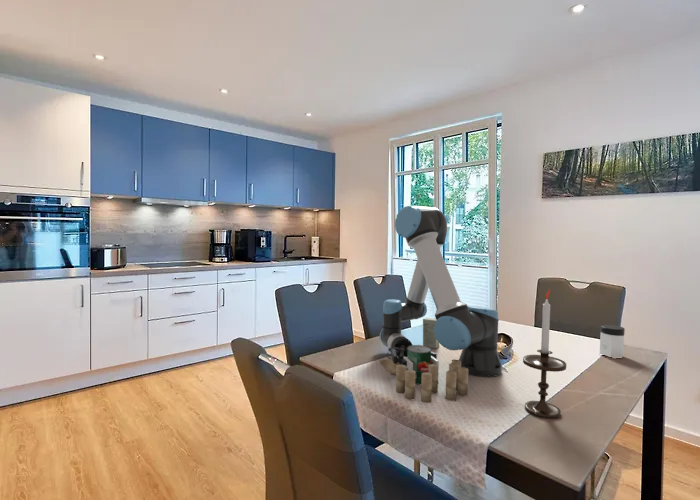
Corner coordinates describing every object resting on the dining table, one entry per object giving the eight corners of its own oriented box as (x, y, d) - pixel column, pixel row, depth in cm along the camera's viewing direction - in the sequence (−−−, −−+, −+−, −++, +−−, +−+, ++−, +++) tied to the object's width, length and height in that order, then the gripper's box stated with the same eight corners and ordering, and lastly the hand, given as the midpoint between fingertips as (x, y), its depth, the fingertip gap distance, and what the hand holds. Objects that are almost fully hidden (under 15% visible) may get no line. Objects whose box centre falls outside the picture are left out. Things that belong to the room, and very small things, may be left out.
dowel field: (460, 383, 128) (461, 359, 127) (473, 404, 112) (474, 377, 112) (393, 381, 129) (394, 358, 128) (398, 402, 113) (398, 375, 113)
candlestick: (571, 413, 108) (577, 289, 106) (551, 424, 101) (557, 292, 100) (534, 399, 116) (538, 284, 115) (513, 408, 110) (518, 287, 108)
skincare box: (439, 346, 169) (440, 318, 168) (436, 348, 165) (436, 320, 164) (425, 343, 172) (426, 316, 171) (422, 346, 168) (422, 318, 168)
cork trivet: (412, 359, 151) (413, 357, 151) (428, 371, 138) (428, 370, 138) (378, 361, 148) (378, 359, 148) (390, 374, 135) (391, 373, 135)
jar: (593, 353, 162) (595, 325, 161) (606, 351, 165) (608, 323, 164) (615, 360, 153) (617, 330, 153) (628, 357, 157) (630, 328, 156)
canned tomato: (409, 374, 135) (410, 343, 134) (432, 378, 132) (433, 346, 131) (404, 382, 128) (404, 350, 127) (427, 386, 125) (428, 353, 124)
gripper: (425, 353, 150) (454, 375, 128) (373, 357, 145) (393, 380, 123) (425, 334, 149) (454, 353, 127) (373, 337, 144) (394, 356, 122)
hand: (424, 366), depth 125 cm, fingers open, 8 cm apart
